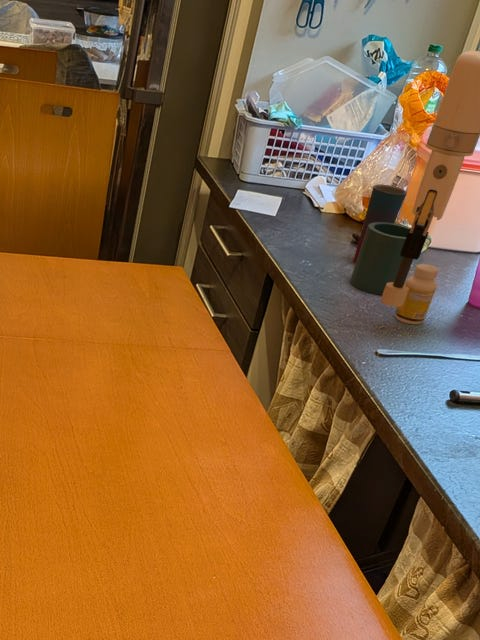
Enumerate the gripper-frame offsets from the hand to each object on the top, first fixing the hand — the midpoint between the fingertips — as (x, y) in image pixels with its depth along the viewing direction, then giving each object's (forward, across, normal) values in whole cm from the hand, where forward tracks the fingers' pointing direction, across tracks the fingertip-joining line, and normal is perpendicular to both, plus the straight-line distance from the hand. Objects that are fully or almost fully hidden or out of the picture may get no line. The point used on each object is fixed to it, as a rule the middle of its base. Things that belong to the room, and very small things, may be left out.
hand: (410, 254), depth 164 cm
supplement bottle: (+13, +8, -4) cm, 16 cm away
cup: (+13, +38, +9) cm, 41 cm away
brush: (+9, 0, 0) cm, 9 cm away
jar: (+13, +23, +5) cm, 27 cm away
